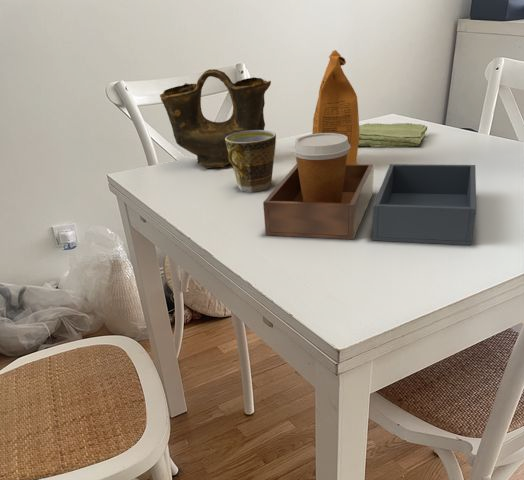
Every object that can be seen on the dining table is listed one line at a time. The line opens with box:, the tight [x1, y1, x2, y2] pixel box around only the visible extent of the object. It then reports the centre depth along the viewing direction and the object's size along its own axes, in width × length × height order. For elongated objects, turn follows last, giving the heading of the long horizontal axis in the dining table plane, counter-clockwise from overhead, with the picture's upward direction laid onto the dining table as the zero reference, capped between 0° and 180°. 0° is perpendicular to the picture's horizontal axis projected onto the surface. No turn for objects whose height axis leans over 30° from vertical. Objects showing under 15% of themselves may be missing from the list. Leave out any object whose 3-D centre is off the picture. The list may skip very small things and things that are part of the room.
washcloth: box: [358, 122, 428, 148], centre depth 132 cm, size 13×18×3 cm
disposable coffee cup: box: [292, 133, 351, 203], centre depth 92 cm, size 10×10×12 cm
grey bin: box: [371, 163, 477, 246], centre depth 89 cm, size 15×22×6 cm
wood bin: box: [262, 163, 375, 240], centre depth 94 cm, size 15×22×6 cm
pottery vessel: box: [159, 68, 272, 169], centre depth 122 cm, size 25×11×20 cm, turn 89°
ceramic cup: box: [225, 129, 277, 193], centre depth 107 cm, size 13×10×10 cm
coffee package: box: [312, 49, 360, 164], centre depth 113 cm, size 10×12×22 cm
